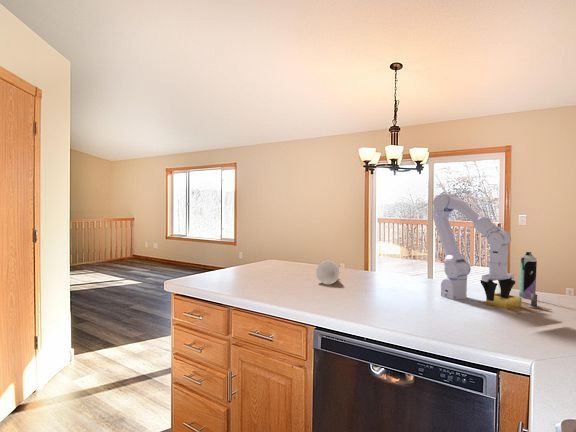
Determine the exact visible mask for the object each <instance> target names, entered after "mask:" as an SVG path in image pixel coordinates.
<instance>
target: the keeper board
mask: <svg viewBox="0 0 576 432" xmlns="http://www.w3.org/2000/svg"><path fill="white" fill-rule="evenodd" d="M478 304H481V305H485V306H489V307H491V308H492V307H493V308H495V309H499V310H502V311H505V312H509V313H511V314H515V315H525V314H534V313H539V312H546V311H547V312H548V311H551V310H553V308H547V307H543V306H540V305H538V294H531V299H530V302H524V301H522V300H521V307H518V308H510V309H504V308H501V307H497V306H494V305H491V304H487V303H486V300H484V301H478Z"/></svg>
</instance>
